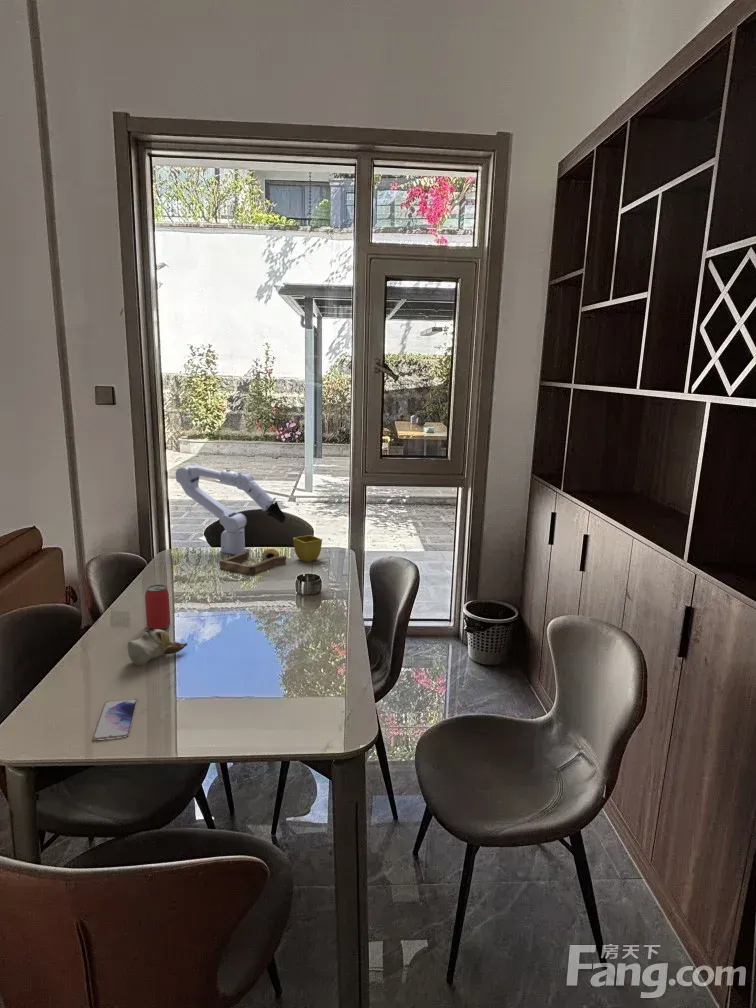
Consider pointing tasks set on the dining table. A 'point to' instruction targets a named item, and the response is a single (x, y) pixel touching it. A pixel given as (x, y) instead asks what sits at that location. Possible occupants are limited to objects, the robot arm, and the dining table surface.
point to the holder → (235, 565)
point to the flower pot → (307, 547)
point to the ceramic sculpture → (152, 646)
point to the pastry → (269, 554)
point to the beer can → (157, 607)
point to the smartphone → (115, 719)
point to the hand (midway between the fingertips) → (283, 520)
